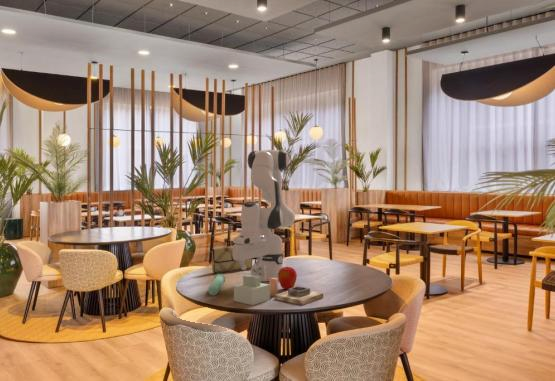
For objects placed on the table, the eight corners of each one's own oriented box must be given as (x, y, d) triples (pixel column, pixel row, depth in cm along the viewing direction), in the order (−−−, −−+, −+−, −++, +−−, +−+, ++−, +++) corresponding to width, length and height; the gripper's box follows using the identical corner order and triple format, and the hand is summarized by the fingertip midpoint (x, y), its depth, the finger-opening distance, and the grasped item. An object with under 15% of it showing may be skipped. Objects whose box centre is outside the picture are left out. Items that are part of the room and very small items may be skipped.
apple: (274, 289, 235) (274, 265, 234) (287, 286, 241) (286, 263, 241) (287, 292, 228) (287, 268, 228) (300, 289, 235) (300, 265, 234)
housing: (233, 300, 214) (233, 276, 214) (251, 295, 223) (251, 272, 223) (252, 305, 207) (252, 280, 206) (269, 299, 216) (269, 275, 215)
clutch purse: (214, 275, 271) (214, 249, 270) (209, 273, 277) (209, 247, 276) (259, 269, 287) (258, 244, 286) (253, 267, 293) (252, 243, 292)
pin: (267, 295, 223) (267, 278, 223) (273, 293, 226) (272, 277, 226) (274, 296, 221) (273, 279, 220) (279, 295, 224) (279, 278, 223)
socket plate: (274, 299, 216) (274, 289, 216) (296, 292, 229) (296, 283, 229) (302, 305, 206) (302, 294, 206) (323, 297, 218) (323, 287, 218)
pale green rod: (215, 283, 224) (222, 271, 249) (204, 288, 224) (212, 276, 249) (220, 294, 224) (227, 282, 249) (209, 299, 224) (216, 286, 249)
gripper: (261, 234, 224) (261, 263, 225) (230, 239, 208) (230, 270, 209) (271, 235, 220) (271, 264, 221) (240, 241, 204) (240, 272, 205)
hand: (251, 267), depth 215 cm, fingers open, 8 cm apart
